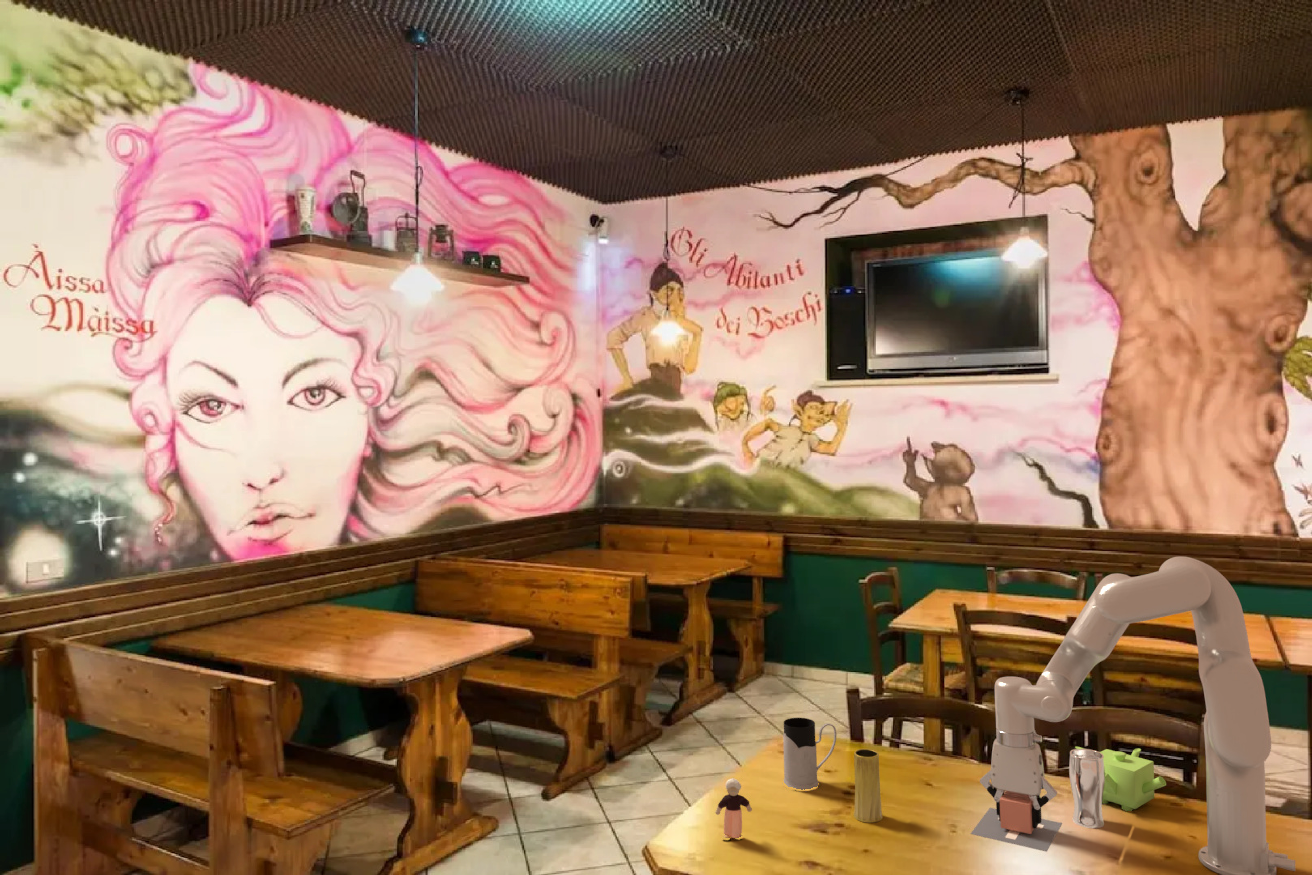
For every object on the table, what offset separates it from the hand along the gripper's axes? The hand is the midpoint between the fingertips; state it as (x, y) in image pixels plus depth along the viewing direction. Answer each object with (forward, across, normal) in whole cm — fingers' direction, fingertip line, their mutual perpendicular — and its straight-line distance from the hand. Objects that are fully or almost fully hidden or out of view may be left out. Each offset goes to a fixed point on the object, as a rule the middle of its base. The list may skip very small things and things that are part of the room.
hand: (1019, 821), depth 192 cm
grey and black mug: (+1, +48, -1) cm, 49 cm away
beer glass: (+2, -12, -11) cm, 16 cm away
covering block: (+1, 0, 0) cm, 1 cm away
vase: (+2, +30, +10) cm, 31 cm away
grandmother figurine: (+1, +50, +34) cm, 60 cm away
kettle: (+3, -16, -27) cm, 31 cm away
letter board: (+2, 0, 0) cm, 2 cm away
